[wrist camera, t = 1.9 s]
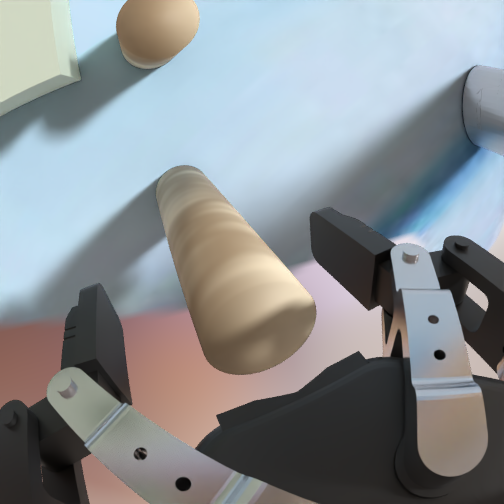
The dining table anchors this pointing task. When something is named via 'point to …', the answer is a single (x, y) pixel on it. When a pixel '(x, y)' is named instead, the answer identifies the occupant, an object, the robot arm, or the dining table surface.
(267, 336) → the long dowel
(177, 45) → the short dowel
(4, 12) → the hole block
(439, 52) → the dining table surface
